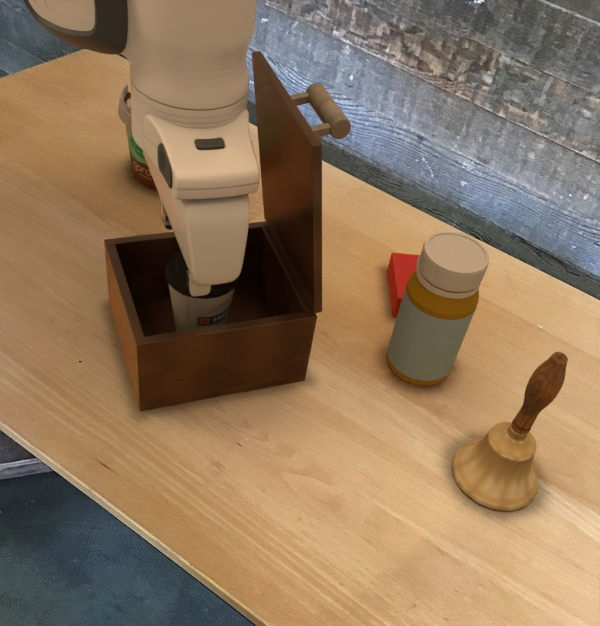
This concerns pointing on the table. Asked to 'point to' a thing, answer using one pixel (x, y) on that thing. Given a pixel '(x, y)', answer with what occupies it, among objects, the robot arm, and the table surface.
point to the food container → (134, 143)
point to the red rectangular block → (399, 277)
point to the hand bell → (510, 447)
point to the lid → (294, 170)
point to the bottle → (437, 308)
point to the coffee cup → (196, 299)
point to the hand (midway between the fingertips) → (184, 256)
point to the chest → (209, 342)
